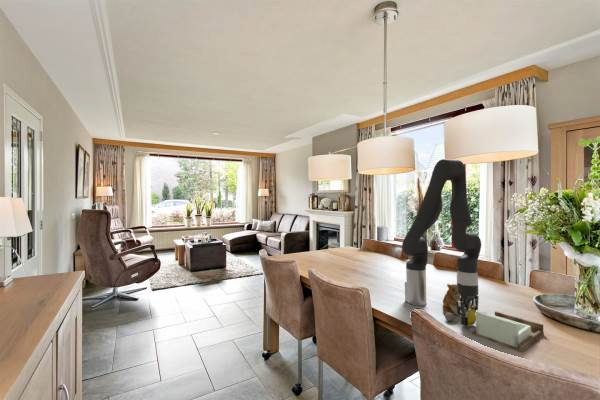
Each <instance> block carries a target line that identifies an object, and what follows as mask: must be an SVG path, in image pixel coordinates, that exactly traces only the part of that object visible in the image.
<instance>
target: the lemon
mask: <svg viewBox="0 0 600 400" xmlns="http://www.w3.org/2000/svg"><path fill="white" fill-rule="evenodd" d="M464 308H465V307H464ZM465 309H467V308H465ZM465 312H466V311H465ZM459 317H460V319H461V316H460V315H459ZM467 317H468V326H467V327H470V326H473V325H475V324H476V313H475V312H474V311H473V310H472V309H471V308H470V311H469V312H468V316H467Z"/></svg>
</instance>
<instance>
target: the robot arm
mask: <svg viewBox="0 0 600 400" xmlns="http://www.w3.org/2000/svg"><path fill="white" fill-rule="evenodd" d="M465 167H466V166H465V165H464V163H463V161H461V160H459V159H452V158H450V159H449V158H442V159H439V160H438V161H437V162H436V164H435V165H434V168H433V170H432V173H431V176H430V180H429V183H428V186H427V189H426V192H425V194H424V197H423V199H422V201H421V204H420V205H419V208H418V210H417V212H416V216H415V217H414V220H413V221H412V224H411V226H410V228H409V230H408V232H407V233H406V235H405V237H404V238H403V241H402V245H401V249H402V251H403V252H402V253H404V255H406V256H408V257H409V256H412V257H411V258H410V260H408V261H406V264H405V270H406V271H405V272H406V273H405V274H406V277H405V278H406V281H405V282H404V301H405V302H406V303H408V304H410V305H413V306H420V307H422V306H426V305H427V268H426V267H427V265H428V258H429V257H428V254H429V251H428V250H429V248H428V242H427V240H426V238H425V237H423V235H424V234H426V233H425V232H427V231H428V230H429V229H430V228H431V227H432V226H433V225H434V224H436V223H437V221H438V219H439V217H440V215H441V213H442V210H443V206H444V205H443V199H442V198H443V197H442V193H443V189H444V187H445V184H446V183H447V181H450V182H451V187H452V196H451V200H450V202H449V203H450V204H449V213H450V216H451V217H450V218H451V222H452V231H451V233H452V234H451V243H452V246H453V247H454V248H455V249H456V251H459V252H463V254H462V255H461V256H459V257H457V261H456V263H457V264H456V266H457V268H456V270H457V273H456V285H457V292H458V293H459V294H460V295H461V296H460V301H456V305H457V316H459V317H460V316H461V318H460V324H461V326H464V327H469V326H468V317H467V316H468V312H469V311H470V308H471V309H472V310H473V311H474V312H475V314H476V312H477V311H478V310H479V298H480V297H479V275H478V260H479V257H480V253H481V249H482V241H481V240H482V239H481V238H480V236H479V235H478V234H476V233H472V232H469V233H467V228H470V227H471V226H472V224H473V221H472V216H471V211H470V208H469V204H468V203H469V202H468V197H467V196H468V194H467V173H466V168H465ZM465 308H467V309H465ZM465 311H466V312H465Z"/></svg>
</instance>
